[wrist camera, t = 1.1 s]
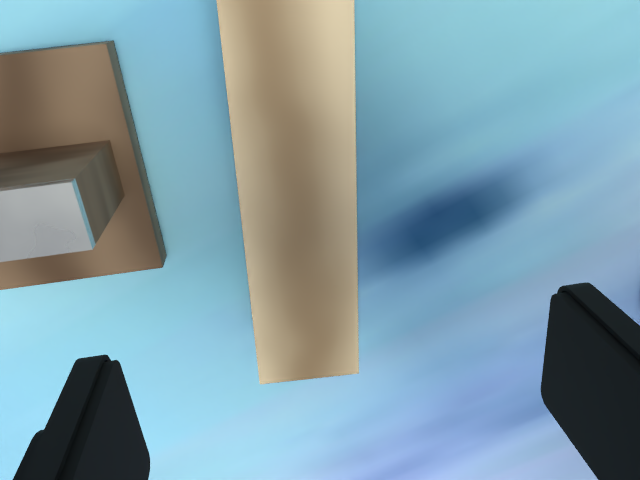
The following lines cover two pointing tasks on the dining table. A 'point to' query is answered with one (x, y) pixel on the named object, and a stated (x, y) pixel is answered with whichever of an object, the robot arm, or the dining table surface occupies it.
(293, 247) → the oak batten
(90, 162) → the stand
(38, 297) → the dining table surface
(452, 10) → the dining table surface
